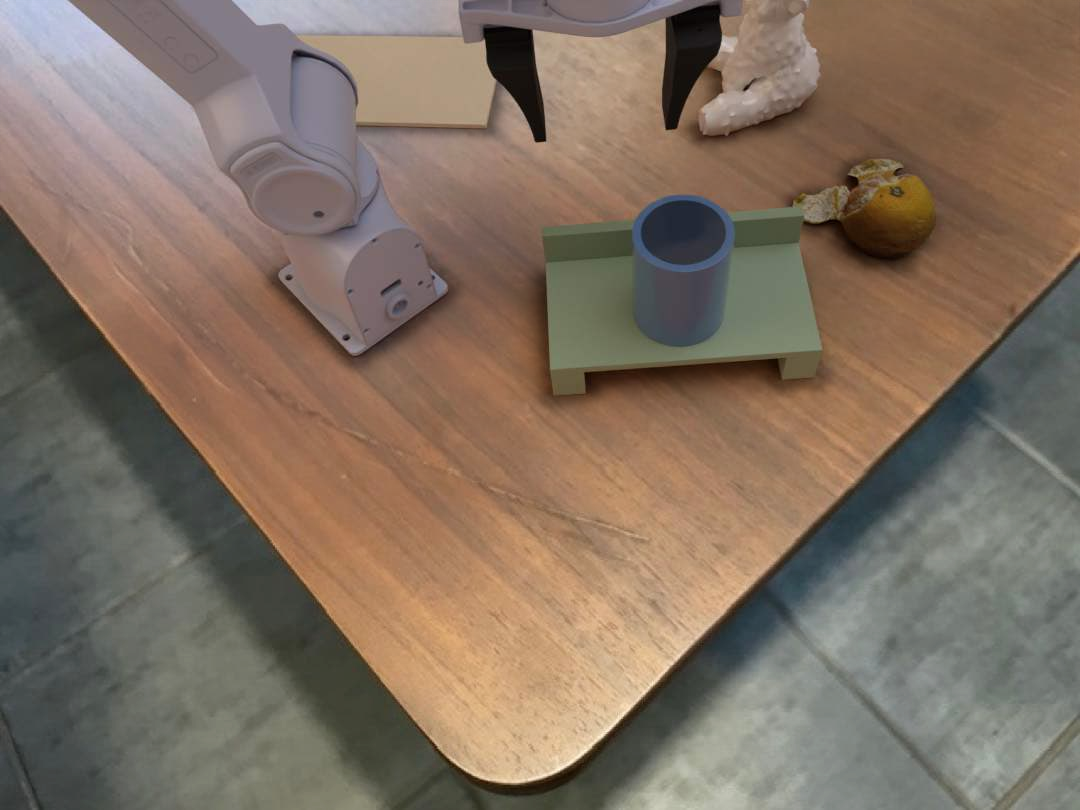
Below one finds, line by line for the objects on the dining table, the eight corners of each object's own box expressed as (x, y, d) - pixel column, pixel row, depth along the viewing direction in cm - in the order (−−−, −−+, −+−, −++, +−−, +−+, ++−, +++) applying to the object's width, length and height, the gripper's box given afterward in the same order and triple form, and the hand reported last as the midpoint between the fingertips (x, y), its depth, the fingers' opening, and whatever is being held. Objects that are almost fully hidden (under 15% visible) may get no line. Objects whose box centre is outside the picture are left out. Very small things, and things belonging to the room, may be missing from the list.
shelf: (814, 377, 59) (830, 324, 54) (553, 396, 60) (546, 345, 55) (790, 263, 63) (802, 205, 59) (548, 282, 64) (541, 226, 60)
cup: (744, 309, 58) (756, 231, 52) (678, 363, 57) (683, 288, 51) (678, 258, 61) (683, 178, 55) (613, 308, 59) (610, 231, 53)
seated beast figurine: (698, 53, 75) (708, -95, 65) (812, 52, 74) (841, -99, 64) (697, 139, 70) (708, -6, 60) (819, 140, 69) (850, -8, 59)
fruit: (876, 155, 68) (887, 115, 65) (963, 227, 64) (979, 188, 61) (783, 208, 66) (790, 169, 63) (866, 285, 62) (878, 247, 59)
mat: (505, 41, 78) (505, 37, 77) (486, 128, 73) (485, 124, 72) (293, 38, 80) (292, 34, 80) (260, 123, 75) (258, 119, 75)
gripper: (738, -161, 47) (718, 67, 59) (444, -128, 48) (482, 90, 59) (761, -76, 43) (735, 149, 55) (442, -42, 44) (483, 173, 56)
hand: (604, 124), depth 57 cm, fingers open, 7 cm apart
